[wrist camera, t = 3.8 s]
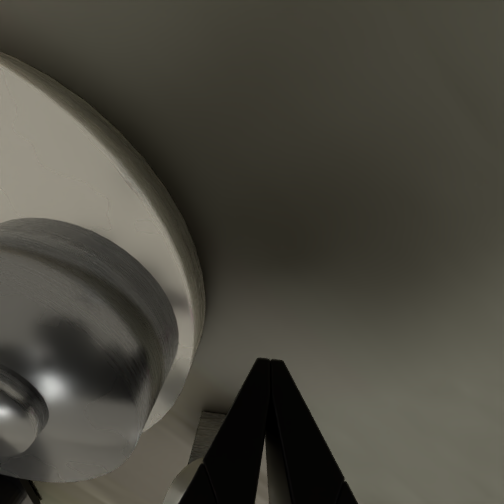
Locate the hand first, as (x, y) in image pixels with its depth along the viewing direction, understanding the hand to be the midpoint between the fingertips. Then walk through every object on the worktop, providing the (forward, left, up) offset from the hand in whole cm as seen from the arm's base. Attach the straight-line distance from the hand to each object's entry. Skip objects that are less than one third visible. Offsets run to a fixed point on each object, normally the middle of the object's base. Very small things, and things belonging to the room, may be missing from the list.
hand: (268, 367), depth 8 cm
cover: (0, +7, -1) cm, 7 cm away
